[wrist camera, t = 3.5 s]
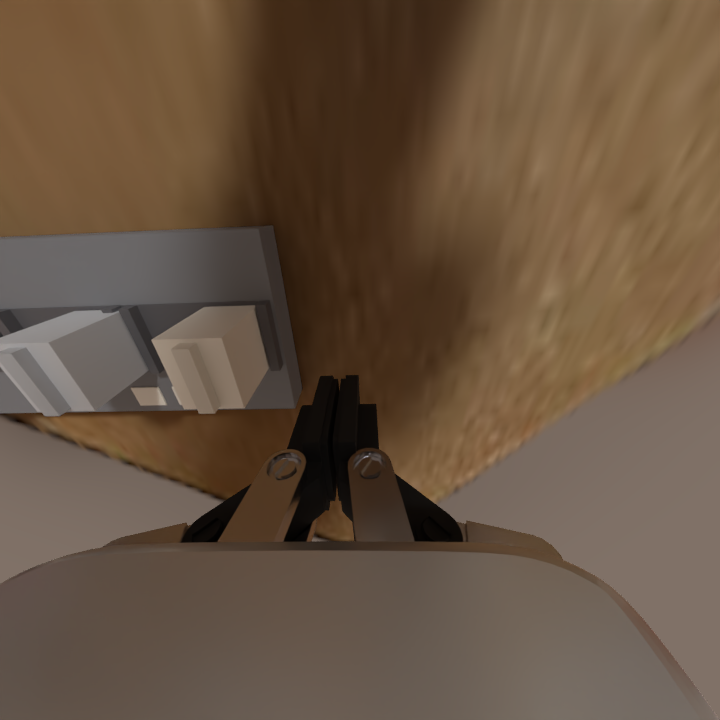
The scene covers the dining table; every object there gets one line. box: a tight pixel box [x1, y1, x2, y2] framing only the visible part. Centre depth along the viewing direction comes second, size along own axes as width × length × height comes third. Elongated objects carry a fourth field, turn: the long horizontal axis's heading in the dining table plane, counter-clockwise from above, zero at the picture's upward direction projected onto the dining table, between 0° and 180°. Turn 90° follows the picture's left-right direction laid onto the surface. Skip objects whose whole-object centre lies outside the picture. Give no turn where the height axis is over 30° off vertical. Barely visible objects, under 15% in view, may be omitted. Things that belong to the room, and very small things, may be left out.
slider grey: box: [0, 310, 149, 416], centre depth 15 cm, size 3×4×5 cm
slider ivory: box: [151, 305, 270, 414], centre depth 15 cm, size 3×4×5 cm
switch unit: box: [0, 225, 302, 413], centre depth 18 cm, size 26×12×3 cm, turn 92°
